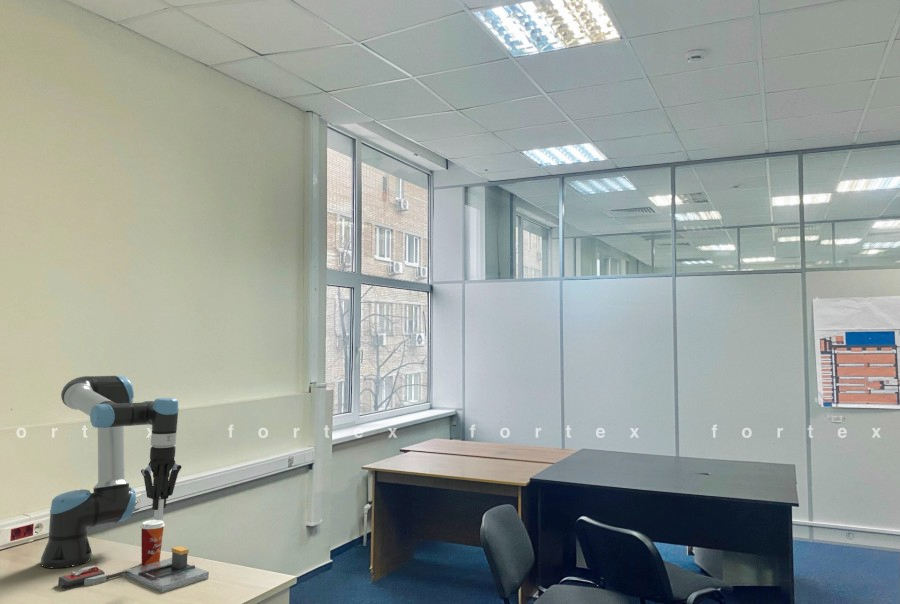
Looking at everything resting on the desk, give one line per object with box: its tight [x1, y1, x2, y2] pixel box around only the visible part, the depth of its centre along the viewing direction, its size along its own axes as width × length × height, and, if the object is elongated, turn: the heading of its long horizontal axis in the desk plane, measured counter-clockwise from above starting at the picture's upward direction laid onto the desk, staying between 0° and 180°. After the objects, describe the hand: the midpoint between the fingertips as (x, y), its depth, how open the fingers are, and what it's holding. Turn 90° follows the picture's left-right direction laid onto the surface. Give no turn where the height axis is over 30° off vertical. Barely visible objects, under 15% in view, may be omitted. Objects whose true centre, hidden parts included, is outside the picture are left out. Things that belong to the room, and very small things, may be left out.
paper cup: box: [140, 519, 166, 566], centre depth 217 cm, size 8×8×14 cm
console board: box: [124, 557, 210, 594], centre depth 203 cm, size 22×16×3 cm
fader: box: [171, 545, 189, 569], centre depth 207 cm, size 5×3×6 cm, turn 55°
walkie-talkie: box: [57, 565, 125, 590], centre depth 200 cm, size 9×4×20 cm
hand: (158, 519), depth 202 cm, fingers closed
